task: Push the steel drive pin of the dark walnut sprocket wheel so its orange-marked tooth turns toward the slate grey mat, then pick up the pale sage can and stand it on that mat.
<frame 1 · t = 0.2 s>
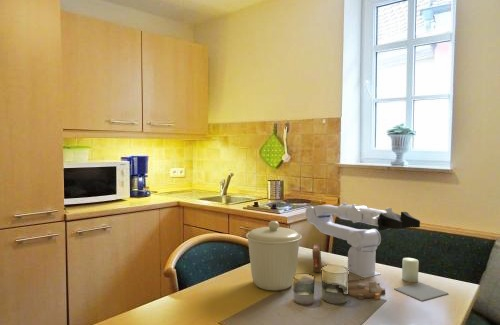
hand: (410, 224, 115), 21 cm above the table, tool horizontal, fingers open, 7 cm apart
sprocket wheel: (361, 283, 116), point 2 cm above the table, hinge at 0.0°
slate mat: (420, 292, 116), on the table
sage can: (410, 280, 127), on the table
canister: (273, 285, 122), on the table
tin: (316, 269, 138), on the table
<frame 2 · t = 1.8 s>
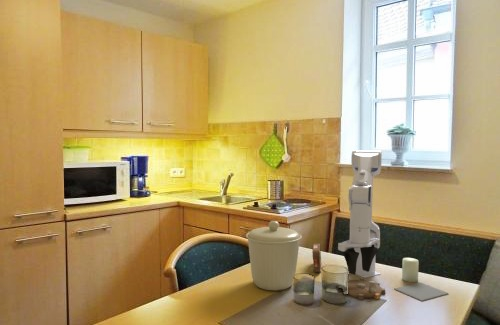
hand: (359, 272, 110), 8 cm above the table, tool pointing down, fingers open, 5 cm apart
nothing on the table moved.
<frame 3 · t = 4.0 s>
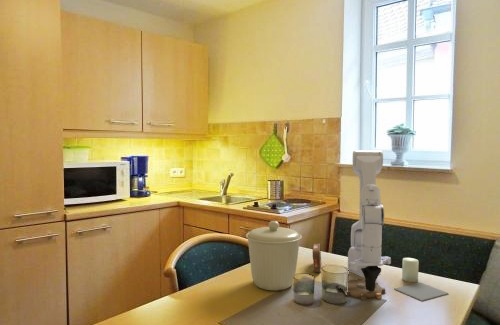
hand: (370, 290, 112), 2 cm above the table, tool pointing down, fingers closed, pressing on sprocket wheel
sprocket wheel: (361, 283, 116), point 2 cm above the table, hinge at 5.7°, touching gripper
everything else where it was.
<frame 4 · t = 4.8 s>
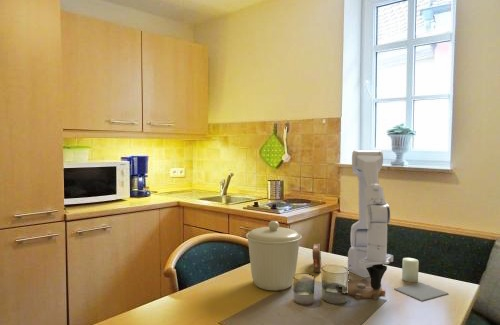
hand: (375, 288, 113), 2 cm above the table, tool pointing down, fingers closed, pressing on sprocket wheel
sprocket wheel: (361, 283, 116), point 2 cm above the table, hinge at 38.2°, touching gripper
everything else where it was.
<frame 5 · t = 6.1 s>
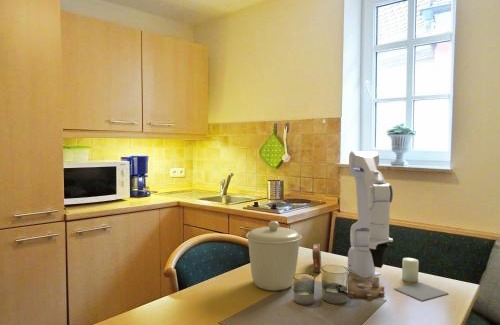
hand: (378, 266, 115), 8 cm above the table, tool pointing down, fingers closed
sprocket wheel: (361, 283, 116), point 2 cm above the table, hinge at 66.4°
everything else where it was.
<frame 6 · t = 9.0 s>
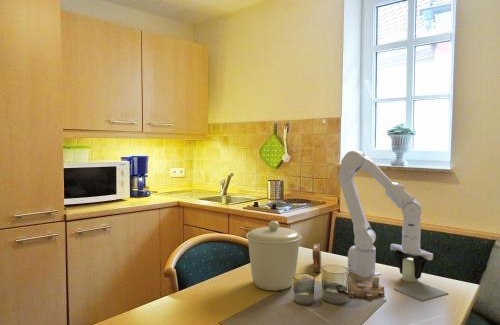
hand: (410, 275, 127), 2 cm above the table, tool pointing down, fingers closed on sage can, 5 cm apart
sage can: (410, 280, 127), on the table, touching gripper
everything else where it was.
when the fingers open (3 cm above the table, at t = 13.0 s): sage can stays where it is, resting on slate mat.
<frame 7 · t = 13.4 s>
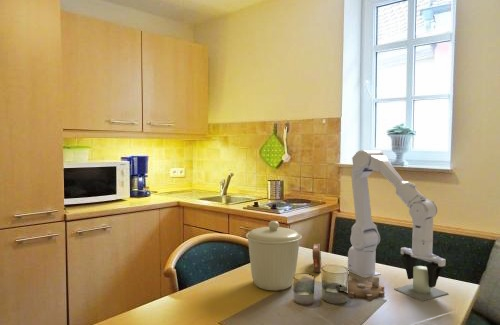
hand: (421, 282, 116), 3 cm above the table, tool pointing down, fingers open, 7 cm apart
sage can: (421, 290, 116), point 1 cm above the table, touching slate mat
everything else where it was.
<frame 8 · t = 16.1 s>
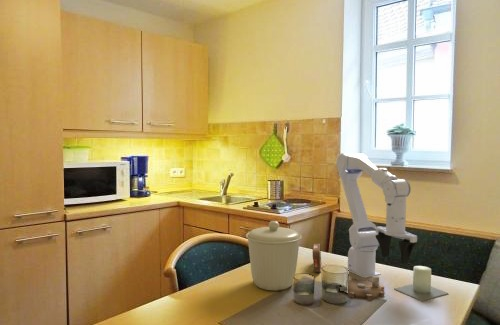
hand: (394, 259, 118), 9 cm above the table, tool pointing down, fingers open, 7 cm apart
nothing on the table moved.
at the end: sprocket wheel at +66° (first picture: +0°); sage can inside the target area on the slate mat (0.3 cm from its centre), point 0.6 cm above the slate mat's base; sage can tilted 0° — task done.
